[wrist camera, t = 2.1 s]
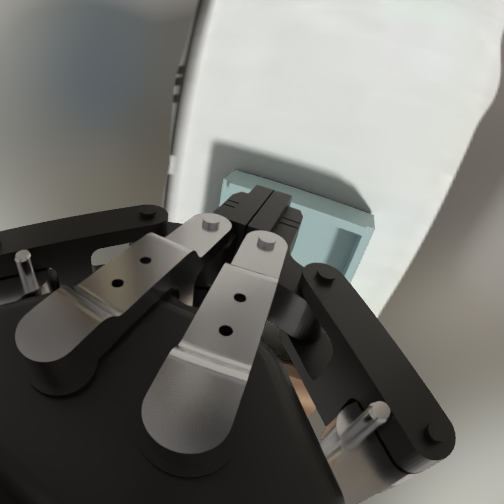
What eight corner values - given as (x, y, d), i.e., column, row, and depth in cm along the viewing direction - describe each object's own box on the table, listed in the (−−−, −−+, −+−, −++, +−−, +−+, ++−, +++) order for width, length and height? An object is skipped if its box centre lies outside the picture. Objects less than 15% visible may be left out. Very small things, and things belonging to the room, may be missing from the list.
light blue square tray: (235, 169, 30) (221, 180, 27) (373, 215, 28) (374, 231, 25) (218, 266, 37) (206, 283, 34) (333, 306, 35) (329, 327, 32)
